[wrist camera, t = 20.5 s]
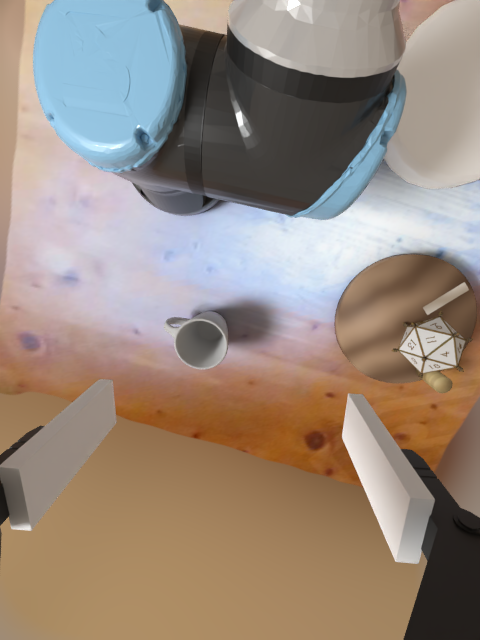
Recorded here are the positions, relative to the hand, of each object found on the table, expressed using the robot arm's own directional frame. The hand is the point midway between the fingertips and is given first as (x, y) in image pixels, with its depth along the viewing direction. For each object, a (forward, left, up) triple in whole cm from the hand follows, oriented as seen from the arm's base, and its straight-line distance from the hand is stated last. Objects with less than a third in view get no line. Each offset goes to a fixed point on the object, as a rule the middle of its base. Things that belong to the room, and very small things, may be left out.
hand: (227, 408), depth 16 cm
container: (-27, +26, -32) cm, 49 cm away
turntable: (+2, +24, -32) cm, 40 cm away
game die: (+2, +23, -29) cm, 37 cm away
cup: (+5, -7, -32) cm, 33 cm away
